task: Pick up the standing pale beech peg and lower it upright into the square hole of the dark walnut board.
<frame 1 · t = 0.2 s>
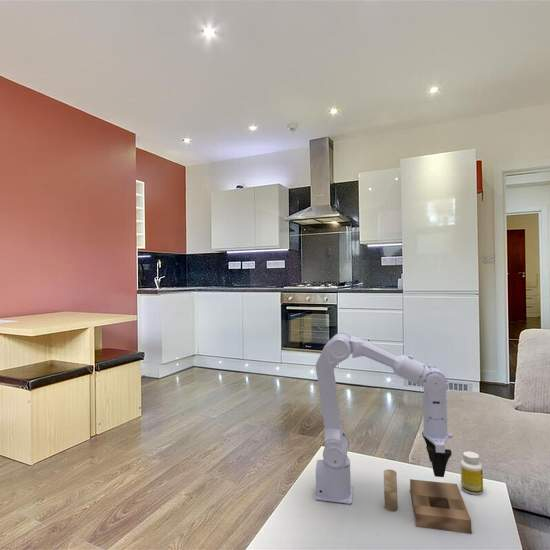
hand: (436, 468, 98), 10 cm above the table, tool pointing down, fingers open, 7 cm apart
walnut socket board: (438, 509, 97), on the table
supplement bottle: (472, 490, 105), on the table
beech peg: (391, 507, 98), on the table
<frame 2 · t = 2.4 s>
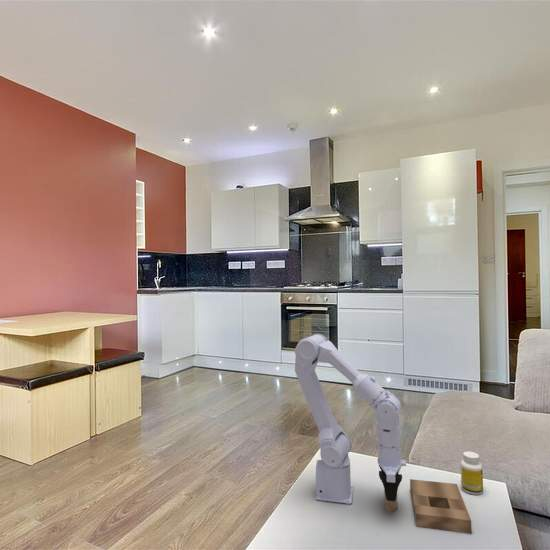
hand: (390, 496, 98), 3 cm above the table, tool pointing down, fingers closed on beech peg, 3 cm apart
beech peg: (391, 507, 98), on the table, touching gripper
everything else where it was.
when the fingers open (4 cm above the table, at t = 7.8 s): beech peg drops 1 cm, resting in walnut socket board.
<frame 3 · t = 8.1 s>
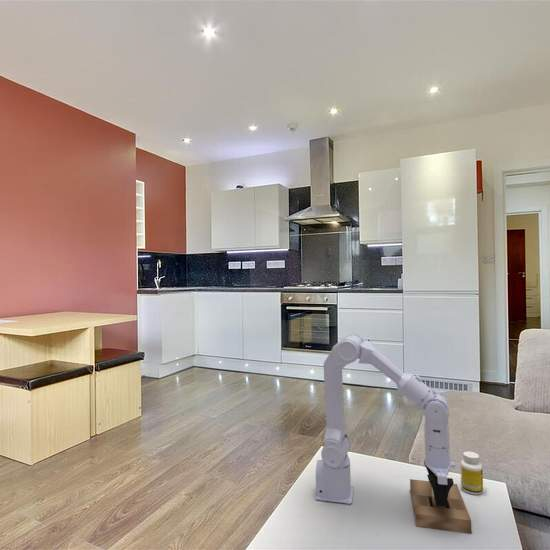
hand: (438, 498, 95), 4 cm above the table, tool pointing down, fingers open, 5 cm apart
beech peg: (439, 514, 95), resting in walnut socket board
everything else where it was.
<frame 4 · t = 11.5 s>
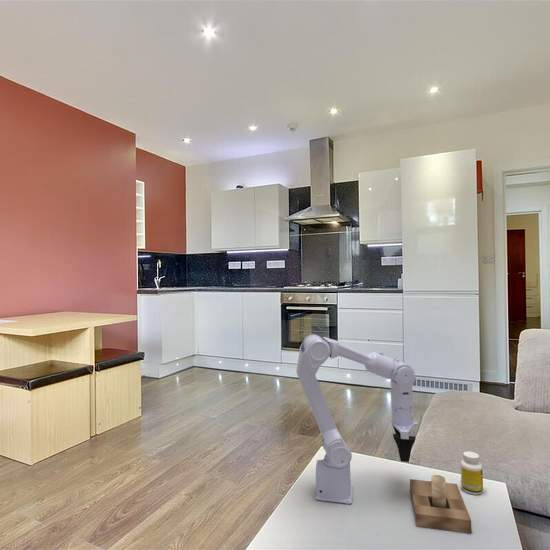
hand: (403, 454, 106), 10 cm above the table, tool pointing down, fingers open, 7 cm apart
nothing on the table moved.
at the end: beech peg 0.0 cm from the target spot on the walnut socket board, point 0.0 cm above the walnut socket board's base; beech peg tilted 0°; the gripper is holding nothing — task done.
